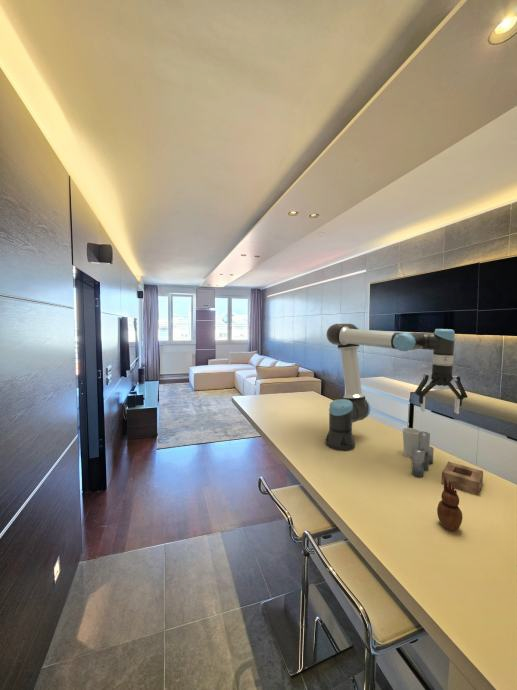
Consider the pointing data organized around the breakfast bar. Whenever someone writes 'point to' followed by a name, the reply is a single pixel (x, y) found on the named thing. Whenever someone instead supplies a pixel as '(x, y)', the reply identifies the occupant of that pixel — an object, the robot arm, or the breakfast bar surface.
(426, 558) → the breakfast bar surface
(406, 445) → the cup
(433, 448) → the short pin
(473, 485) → the hole block
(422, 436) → the long pin
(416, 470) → the medium pin
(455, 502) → the wooden figurine
